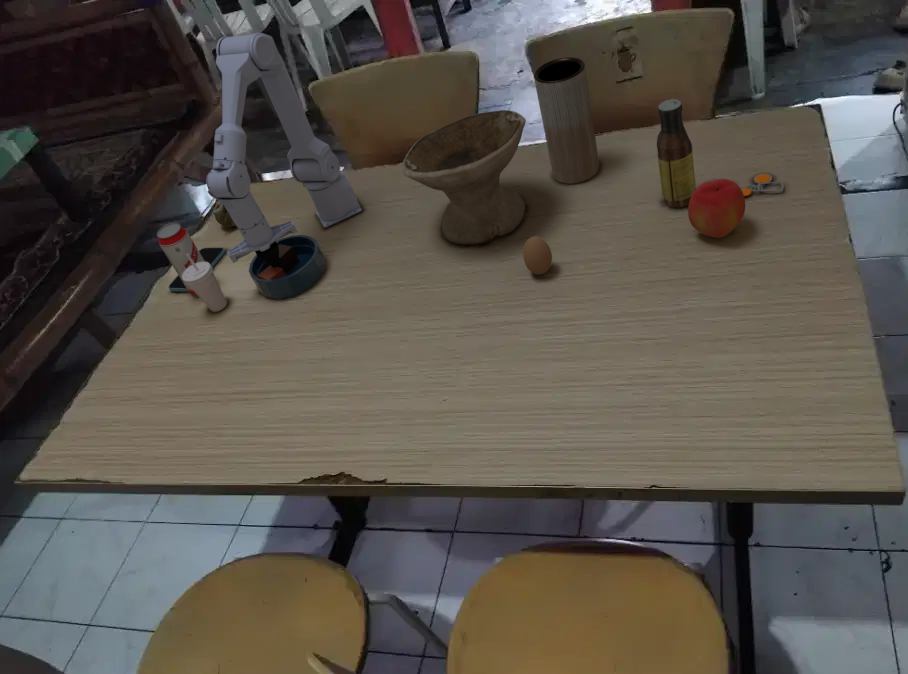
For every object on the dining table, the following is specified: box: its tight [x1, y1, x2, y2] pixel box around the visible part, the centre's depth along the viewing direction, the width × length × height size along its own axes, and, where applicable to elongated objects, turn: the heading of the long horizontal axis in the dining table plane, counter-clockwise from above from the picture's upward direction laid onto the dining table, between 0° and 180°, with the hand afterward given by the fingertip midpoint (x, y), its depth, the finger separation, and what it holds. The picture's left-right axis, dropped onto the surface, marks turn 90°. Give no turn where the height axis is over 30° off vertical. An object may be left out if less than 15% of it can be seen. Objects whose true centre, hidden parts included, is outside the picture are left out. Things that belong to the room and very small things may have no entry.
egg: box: [522, 236, 553, 275], centre depth 135 cm, size 5×5×8 cm
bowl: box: [401, 109, 527, 246], centre depth 147 cm, size 26×25×20 cm
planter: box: [533, 56, 600, 184], centre depth 150 cm, size 10×10×23 cm
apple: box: [687, 178, 746, 238], centre depth 129 cm, size 10×10×10 cm
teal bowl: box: [248, 234, 327, 300], centre depth 156 cm, size 15×15×5 cm
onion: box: [212, 199, 237, 228], centre depth 178 cm, size 8×8×8 cm
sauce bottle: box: [656, 98, 697, 208], centre depth 135 cm, size 6×6×20 cm
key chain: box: [712, 173, 785, 197], centre depth 138 cm, size 13×7×1 cm, turn 76°
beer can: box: [156, 222, 205, 297], centre depth 157 cm, size 6×6×16 cm
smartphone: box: [167, 247, 226, 292], centre depth 169 cm, size 7×1×15 cm
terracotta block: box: [257, 265, 286, 280], centre depth 154 cm, size 4×4×4 cm
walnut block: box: [278, 244, 299, 272], centre depth 159 cm, size 4×4×4 cm
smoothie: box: [182, 253, 228, 313], centre depth 152 cm, size 6×6×14 cm
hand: (280, 271), depth 156 cm, fingers closed, pressing on terracotta block
